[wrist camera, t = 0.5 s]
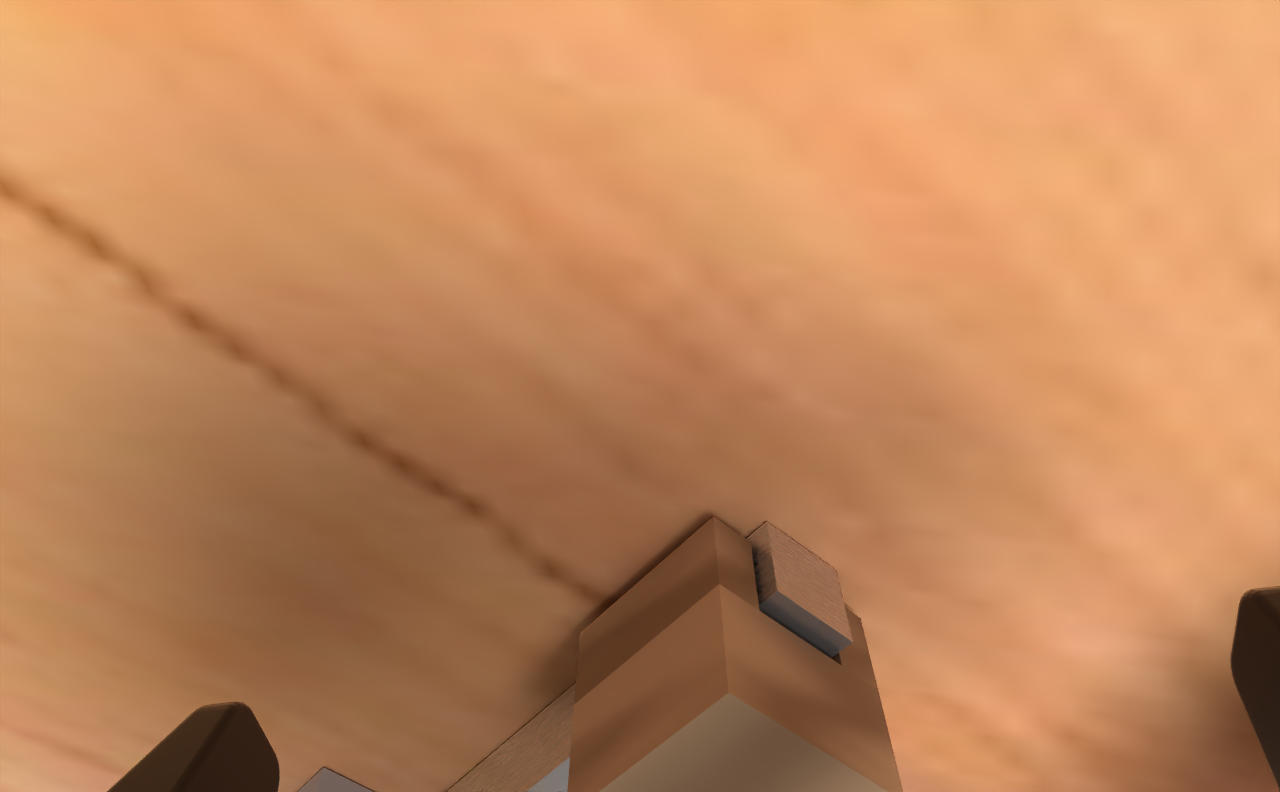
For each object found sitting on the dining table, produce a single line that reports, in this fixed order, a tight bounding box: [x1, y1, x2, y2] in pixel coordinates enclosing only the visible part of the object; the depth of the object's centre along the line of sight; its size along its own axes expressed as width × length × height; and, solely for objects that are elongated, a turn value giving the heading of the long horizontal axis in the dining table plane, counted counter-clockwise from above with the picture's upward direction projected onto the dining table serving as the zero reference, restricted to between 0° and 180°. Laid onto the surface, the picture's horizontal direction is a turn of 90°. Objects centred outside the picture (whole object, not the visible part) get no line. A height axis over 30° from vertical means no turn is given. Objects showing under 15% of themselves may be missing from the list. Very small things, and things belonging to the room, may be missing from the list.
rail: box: [447, 521, 853, 792], centre depth 27 cm, size 2×15×2 cm, turn 139°
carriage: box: [567, 516, 903, 792], centre depth 24 cm, size 5×5×5 cm
